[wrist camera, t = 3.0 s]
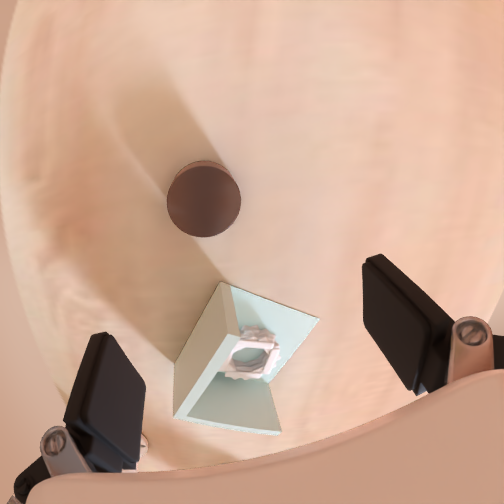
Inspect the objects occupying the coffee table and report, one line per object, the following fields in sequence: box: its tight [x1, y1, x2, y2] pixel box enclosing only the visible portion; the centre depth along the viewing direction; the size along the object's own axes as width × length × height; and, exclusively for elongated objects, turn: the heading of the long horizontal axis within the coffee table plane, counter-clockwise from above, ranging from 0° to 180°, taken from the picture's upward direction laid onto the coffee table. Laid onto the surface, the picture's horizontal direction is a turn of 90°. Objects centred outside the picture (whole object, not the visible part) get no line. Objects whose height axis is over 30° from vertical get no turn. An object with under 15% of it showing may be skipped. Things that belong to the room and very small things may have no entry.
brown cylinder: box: [167, 161, 241, 237], centre depth 22 cm, size 5×5×3 cm
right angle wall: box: [173, 281, 320, 436], centre depth 28 cm, size 12×12×8 cm
